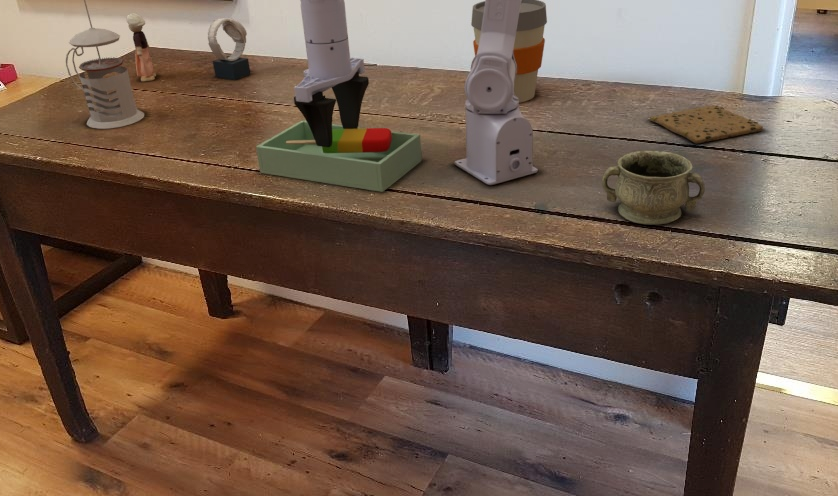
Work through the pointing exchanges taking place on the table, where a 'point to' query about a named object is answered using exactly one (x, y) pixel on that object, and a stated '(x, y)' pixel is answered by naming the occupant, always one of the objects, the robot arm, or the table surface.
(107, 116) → the french press
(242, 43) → the watch
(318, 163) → the tote
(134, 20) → the grandmother figurine
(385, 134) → the popsicle
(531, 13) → the reusable coffee cup
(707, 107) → the cookie
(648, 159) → the vessel
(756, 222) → the table surface
